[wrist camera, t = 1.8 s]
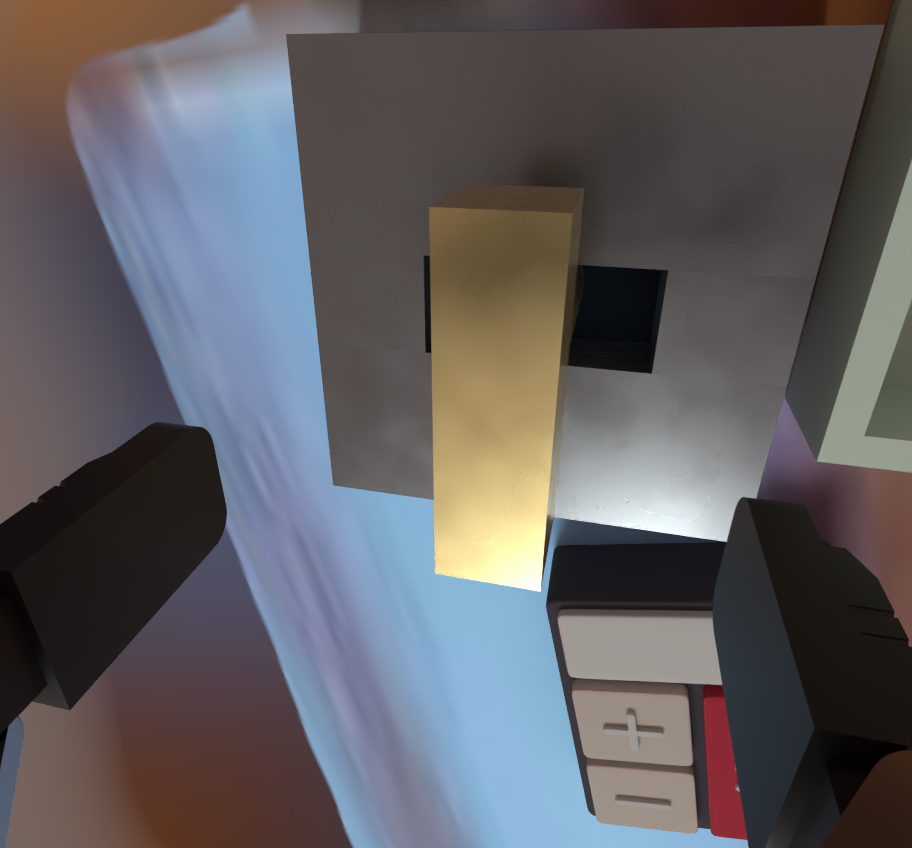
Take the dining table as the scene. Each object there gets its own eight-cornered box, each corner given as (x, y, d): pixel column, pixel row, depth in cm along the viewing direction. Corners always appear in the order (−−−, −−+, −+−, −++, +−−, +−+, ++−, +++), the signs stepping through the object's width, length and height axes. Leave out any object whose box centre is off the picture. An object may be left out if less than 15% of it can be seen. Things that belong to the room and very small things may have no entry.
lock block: (823, 40, 18) (884, 24, 14) (724, 464, 24) (743, 544, 20) (357, 45, 21) (286, 34, 16) (380, 423, 27) (333, 485, 23)
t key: (528, 149, 21) (428, 206, 11) (602, 150, 21) (572, 213, 10) (516, 371, 25) (435, 573, 14) (579, 377, 24) (540, 590, 14)
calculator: (587, 832, 32) (541, 614, 25) (592, 752, 35) (552, 542, 28) (837, 862, 28) (863, 619, 21) (813, 770, 32) (829, 537, 25)
